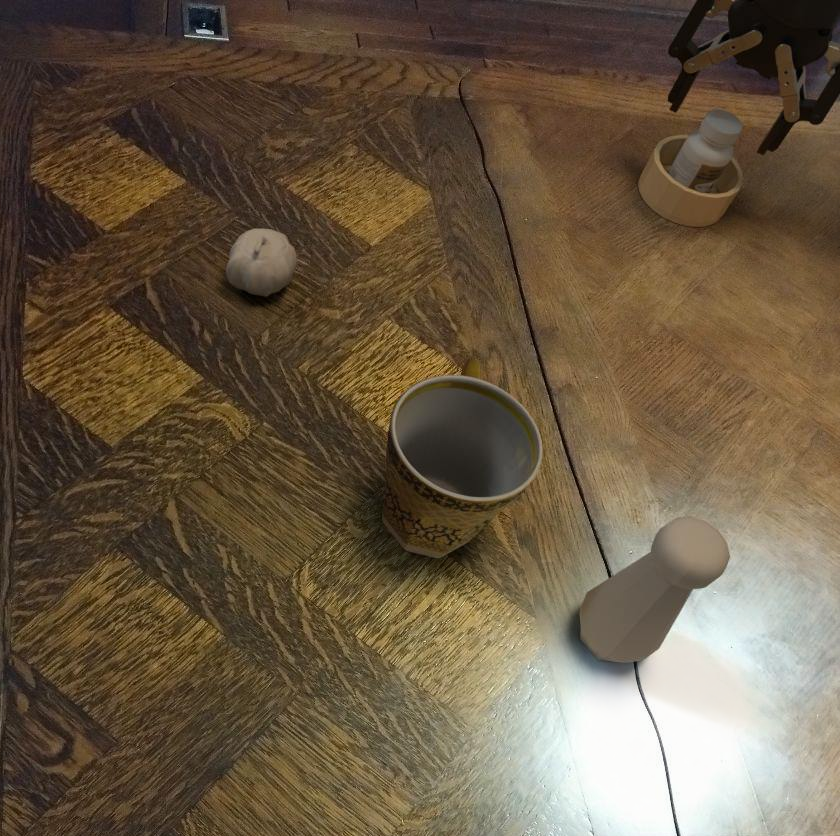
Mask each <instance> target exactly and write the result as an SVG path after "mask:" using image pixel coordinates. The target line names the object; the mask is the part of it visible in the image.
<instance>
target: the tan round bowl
mask: <svg viewBox="0 0 840 836" xmlns="http://www.w3.org/2000/svg"><path fill="white" fill-rule="evenodd" d="M688 136H689V135H687V134H677V135H671V136H667V137H665V138H663V139H661V140H659V141H658V143H657V144H656V145H655V148H654V149H653V151H652V153H651V155H650V156H649V159H648V160H647V162H646V164H645V166H644V167H643V170H642V172H641V173H640V175H639V178H638V183H637V185H638V186H637V187H638V191H639V195H640V196H641V198H642V200H643V202H644V203H645V204H646V205H647V206H648V207H649V208H650V209H651V210H652V211H653V212H654V213H656V214H658V215H659V216H660V217H662V218H664V219H665V220H667V221H669V222H671V223H675V224H677V225H680V226H686V227H692V228H694V227H695V228H701V227H703V228H704V227H708V226H711V225H714V224H715V223H717V222H718V221H719V220H720V219H722V217H723V216H724V215H725V213H726V212H727V211H728V208H730V205H731V204H732V203H733V201H734V199H735V198H736V196H737V194H739V192H740V190H741V187H742V186H743V185H744V175H743V173H744V172H743V170H742V168H741V166H740V165H739V162H738V160H736V159H735V158H734V156H732V158H731V160H730V161H729V163H728V165H727V166H726V168H725V169H724V171H723V173H722V174H721V176H720V177H719V179H718V181H717V182H716V184H715V185H714V187H713V189H712V190H711V192H710V193H701V192H698V191H695V190H692V189H690V188H687V187H685V186H684V185H682V184H680V183H679V182H677V181H675V180H674V179H673V178H672V177H671V176H670V175H669V174H668V171H669V169H670V167H671V166H672V164H673V162H674V160H675V159H676V157H677V155H678V153H679V152H680V150H681V148H682V146H683V144H684V143H685V141H686V139H687V137H688Z"/></svg>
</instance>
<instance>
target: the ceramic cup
mask: <svg viewBox="0 0 840 836" xmlns="http://www.w3.org/2000/svg"><path fill="white" fill-rule="evenodd" d="M385 453H386V454H385V469H386V471H385V472H386V480H385V490H384V498H383V507H382V517H381V518H382V519H381V520H382V522H383V524H384V526H385V527H386V529H387V530H388V531H389V532H390V534H391V535H392V536H393V537H394V538H395V541H397V543H398V544H399V546H401V548H402V549H403V550H404V551H406V552H410V553H414V554H417V555H422V556H426V557H430V558H433V559H441V558H442V557H445V556H446V555H448V554H450V553H452V552H454V551H455V550H457V549H459V548H461V547H462V546H464V545H466V544H467V543H469V542H470V541H471V540H472V539H473V538H475V537H476V536H477V535H478V534H479V533H480V531H481V530H482V529H484V528H485V527H486V526H487V525H488V524H489V523H490V522H492V520H493V519H495V517H497V516H498V514H499V513H501V512H502V511H503V510H505V509H506V508H508V507H509V506H510V505H511V504H512V503H514V501H515V500H516V499H518V498H519V497H520V496H521V495H522V494H523V493H524V492H525V491H526V490H527V488H528V487H529V486H530V484H531V483H532V482H533V481H534V480H535V478H536V476H537V475H538V473H539V470H540V468H541V464H542V461H543V441H542V437H541V434H540V431H539V428H538V426H537V424H536V422H535V420H534V418H533V417H532V416H531V414H530V413H529V411H528V410H527V409H526V408H525V407H524V405H523V404H521V402H520V401H519V400H517V399H516V397H514V396H513V395H511V394H510V393H509V392H507V391H506V390H504V389H502V388H501V387H499V386H497V385H495V384H493V383H491V382H488V381H486V380H484V379H481V367H480V362H479V360H477V359H474V358H472V357H471V358H467V359H466V360H465V362H464V364H463V367H462V369H461V372H460V374H442V375H435V376H431V377H428V378H423V379H422V380H419V381H418V382H416V383H414V384H412V385H411V386H410V387H408V388H406V390H404V392H402V394H401V395H400V396H399V397H398V399H397V400H396V402H395V403H394V406H393V407H392V410H391V414H390V418H389V424H388V430H387V439H386V452H385Z"/></svg>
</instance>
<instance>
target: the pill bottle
mask: <svg viewBox="0 0 840 836" xmlns="http://www.w3.org/2000/svg"><path fill="white" fill-rule="evenodd" d="M743 129H744V126H743V122H742V121H741V120H740V118H739V117H738V116H737V115H736V114H734V113H732V112H731V111H728V110H724V109H717V108H715V109H711V110H709V111H708V112H706V114H705V115H704V118H703V119H702V121H701V123H700V125H699V128H698V129H695V130H693V131H692V132H690V133H689V135H687V136H688V137H687V139H686V141H685V143H684V144H683V146H682V148H681V150H680V152H679V153H678V155H677V157H676V159H675V160H674V162H673V164H672V166H671V167H670V169H669V171H668V174H669V175H670V176H671V177H672V178H673V179H674V180H675V181H677V182H679V183H680V184H682V185H684V186H685V187H687V188H690V189H692V190H695V191H698V192H701V193H710V192H711V190H712V189H713V187H714V185H715V184H716V182H717V181H718V179H719V177H720V176H721V174H722V173H723V171H724V169H725V168H726V166H727V165H728V163H729V161H730V160H731V158H732V157H734V153H735V152H734V145H735V143H736V141H737V140H738V138H739V136H740V135H741V133H742V131H743Z"/></svg>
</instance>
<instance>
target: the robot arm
mask: <svg viewBox="0 0 840 836" xmlns="http://www.w3.org/2000/svg"><path fill="white" fill-rule="evenodd" d="M724 11H726V12H727V23H728V29H727V30H725V31H723V32H721V33H719V34H718V35H716V36H715V37H714V38H713V39H710V40H708V41H706V42H704V43H702V44H701V45H697V44H696V43H695V42H694V41H693V38H694V36H695V34H696V33H697V32H698V29H699V27H700V26H701V24H702V22H703V21H704V20H705V18H708V19H712V18H715V17H716V16H717V15H718V14H719V13H720V12H724ZM839 22H840V0H696V1H695V3H694V4H693V6H692V8H691V10H690V11H689V13H688V14H687V16H686V18H685V19H684V20H683V23H682V24H681V26H680V28H679V30H678V31H677V33H676V34H675V36H674V38H673V40H672V42H671V43H670V45H669V47H668V49H667V53H668V55H669V57H670V58H674V59H677V60H678V61H679V62H680V65H681V70H680V73H679V75H678V76H677V78H676V80H675V82H674V84H673V85H672V87H671V89H670V91H669V92H668V95H667V102H668V103H670V104H671V105H670V107H669V111H670V112H673V113H675V114H677V113H678V111H679V110H680V108H681V106H682V105H683V103H684V101H685V99H686V98H687V96H688V94H689V92H690V90H691V89H692V87H693V86H694V83H695V82H696V80H697V79H698V76H699V75H700V72H701V70H702V69H705V68H707V67H709V66H710V65H711V66H712V65H716V64H718V63H720V62H722V61H725V60H727V59H729V58H731V57H733V58H734V60H735V61H736V62H735V65H737V66H740V67H742V68H744V69H748V70H749V69H750V70H754V71H755V72H756V73H757V74H758V75H759V76H760V77H762V78H765V79H767V80H771V79H778V87H779V95H780V98H782V99H781V100H782V107H783V109H782V110H781V112H780V113H779V115H778V117H777V118H776V119H775V120H774V122H773V123H772V125H771V127H770V128H769V130H768V131H767V133H766V134H765V136H764V137H763V139H762V141H761V142H760V144H759V146H758V147H757V150H756V153H757V154H759V155H761V156H762V157H763V156H765V155H766V152H767V151H769V152H771V153H774V152H775V151H776V150H778V149H779V148H780V146H781V145H782V144H783V142H784V140H785V138H786V137H787V135H789V133H790V131H791V130H792V129H793V127H794V125H795V124H797V123H798V122H799V123H800V122H808V123H809V124H810V125H812V126H818V125H820V124H822V123H823V122H824V120H825V119H826V117H827V116H828V114H829V112H830V111H831V110H832V107H833V106H834V104H835V103H836V101H837V99H838V97H839V96H840V43H839V42H836V41H834V40H832V38H833V32H834V30H835V28H836V27H837V25H838V24H839ZM822 58H825V59H826V61H827V65H826V67H825V72H826V74H827V75H829V76H830V78H829V80H828V81H827V83H826V84H825V86H824V88H823V89H822V91H821V92H820V94H819V96H818V98H817V99H814V98H807V92H806V91H807V90H806V79H807V78H806V76H807V73H806V72H807V71H806V66H808V65H810V64H813V63H814V62H816V61H818V60H820V59H822Z"/></svg>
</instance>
